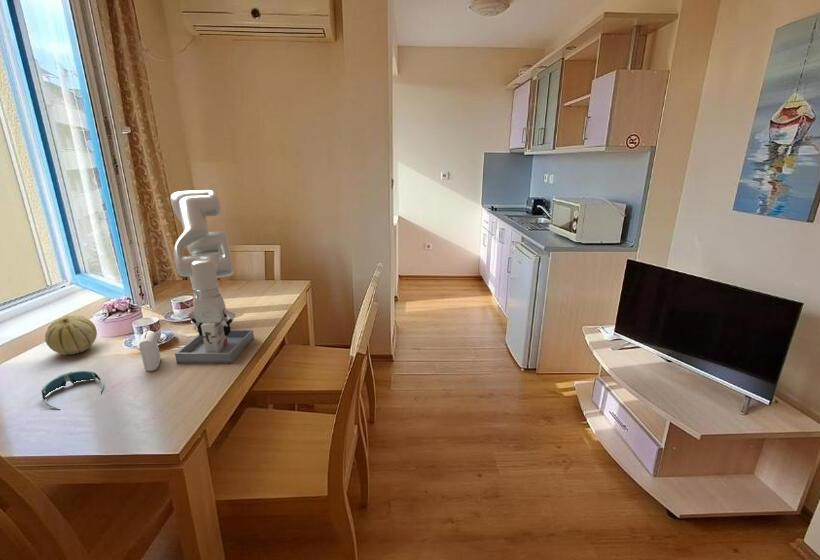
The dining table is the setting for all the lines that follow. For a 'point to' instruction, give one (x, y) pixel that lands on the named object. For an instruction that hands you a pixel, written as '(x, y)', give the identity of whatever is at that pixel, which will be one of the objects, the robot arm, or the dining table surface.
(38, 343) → the dining table surface
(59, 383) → the sunglasses
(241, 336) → the tray
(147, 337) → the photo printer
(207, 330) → the ink box
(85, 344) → the cantaloupe
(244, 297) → the dining table surface
